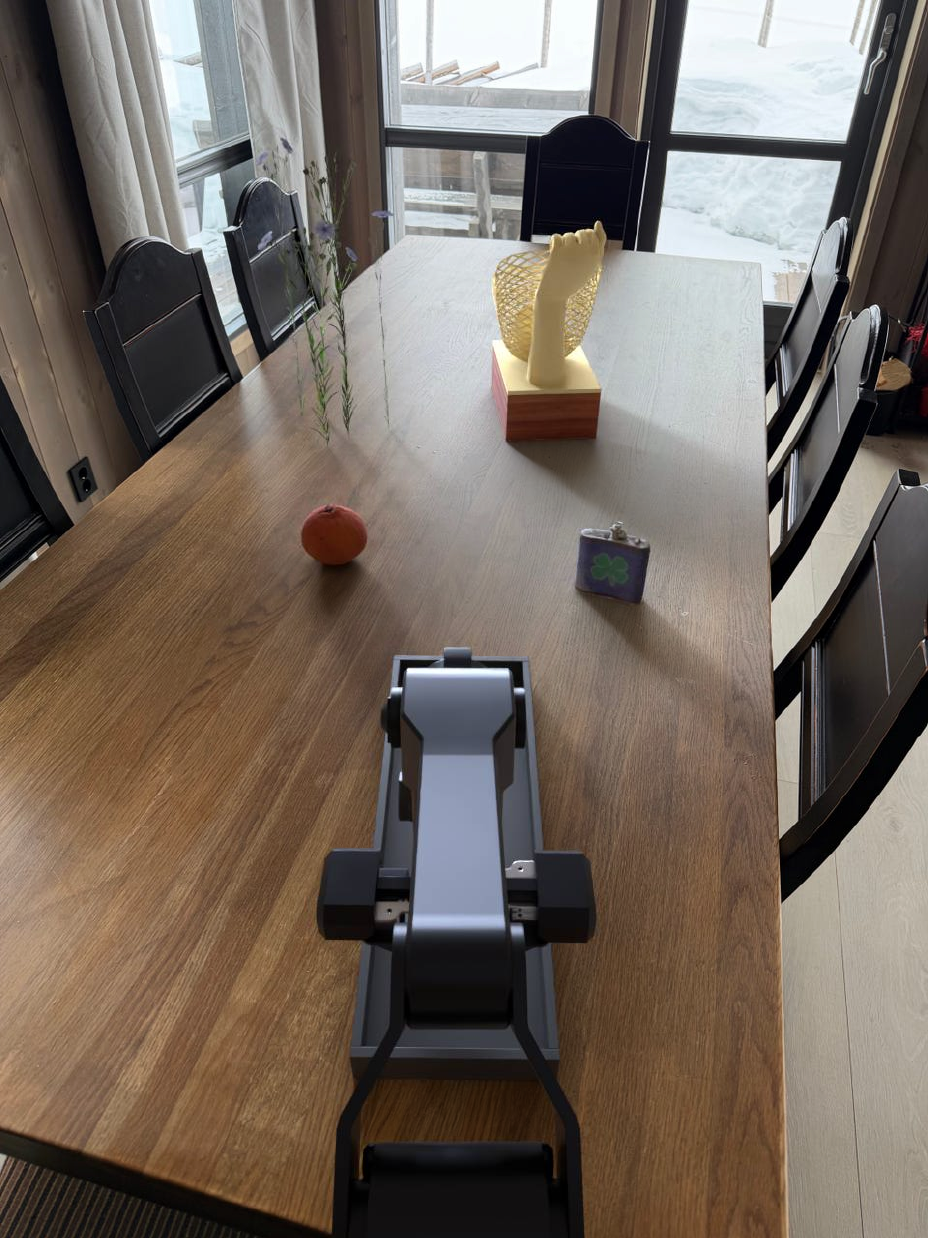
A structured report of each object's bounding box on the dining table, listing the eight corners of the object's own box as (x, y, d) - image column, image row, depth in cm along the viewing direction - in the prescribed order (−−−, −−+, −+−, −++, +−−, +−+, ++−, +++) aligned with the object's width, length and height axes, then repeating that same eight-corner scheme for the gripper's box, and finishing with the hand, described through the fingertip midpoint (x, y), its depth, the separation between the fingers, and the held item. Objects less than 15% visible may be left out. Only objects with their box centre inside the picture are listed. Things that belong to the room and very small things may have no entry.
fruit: (291, 565, 120) (284, 516, 115) (327, 535, 126) (322, 486, 121) (345, 583, 116) (340, 533, 112) (379, 550, 123) (376, 501, 118)
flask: (571, 591, 116) (579, 522, 109) (577, 579, 118) (585, 511, 111) (639, 607, 113) (651, 538, 106) (644, 595, 115) (656, 526, 108)
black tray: (556, 1081, 66) (560, 1060, 64) (352, 1079, 66) (349, 1057, 64) (527, 679, 102) (529, 656, 100) (395, 677, 102) (393, 655, 100)
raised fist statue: (600, 442, 150) (625, 227, 128) (497, 445, 148) (505, 228, 127) (574, 384, 169) (592, 189, 147) (483, 386, 168) (487, 190, 146)
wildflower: (423, 439, 150) (417, 148, 122) (300, 470, 141) (263, 164, 113) (368, 392, 165) (352, 124, 137) (253, 418, 156) (210, 136, 128)
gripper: (589, 737, 62) (570, 870, 71) (328, 734, 62) (344, 867, 71) (608, 868, 53) (584, 1000, 62) (304, 864, 53) (327, 997, 63)
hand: (456, 959), depth 65 cm, fingers closed on pill bottle, 6 cm apart
